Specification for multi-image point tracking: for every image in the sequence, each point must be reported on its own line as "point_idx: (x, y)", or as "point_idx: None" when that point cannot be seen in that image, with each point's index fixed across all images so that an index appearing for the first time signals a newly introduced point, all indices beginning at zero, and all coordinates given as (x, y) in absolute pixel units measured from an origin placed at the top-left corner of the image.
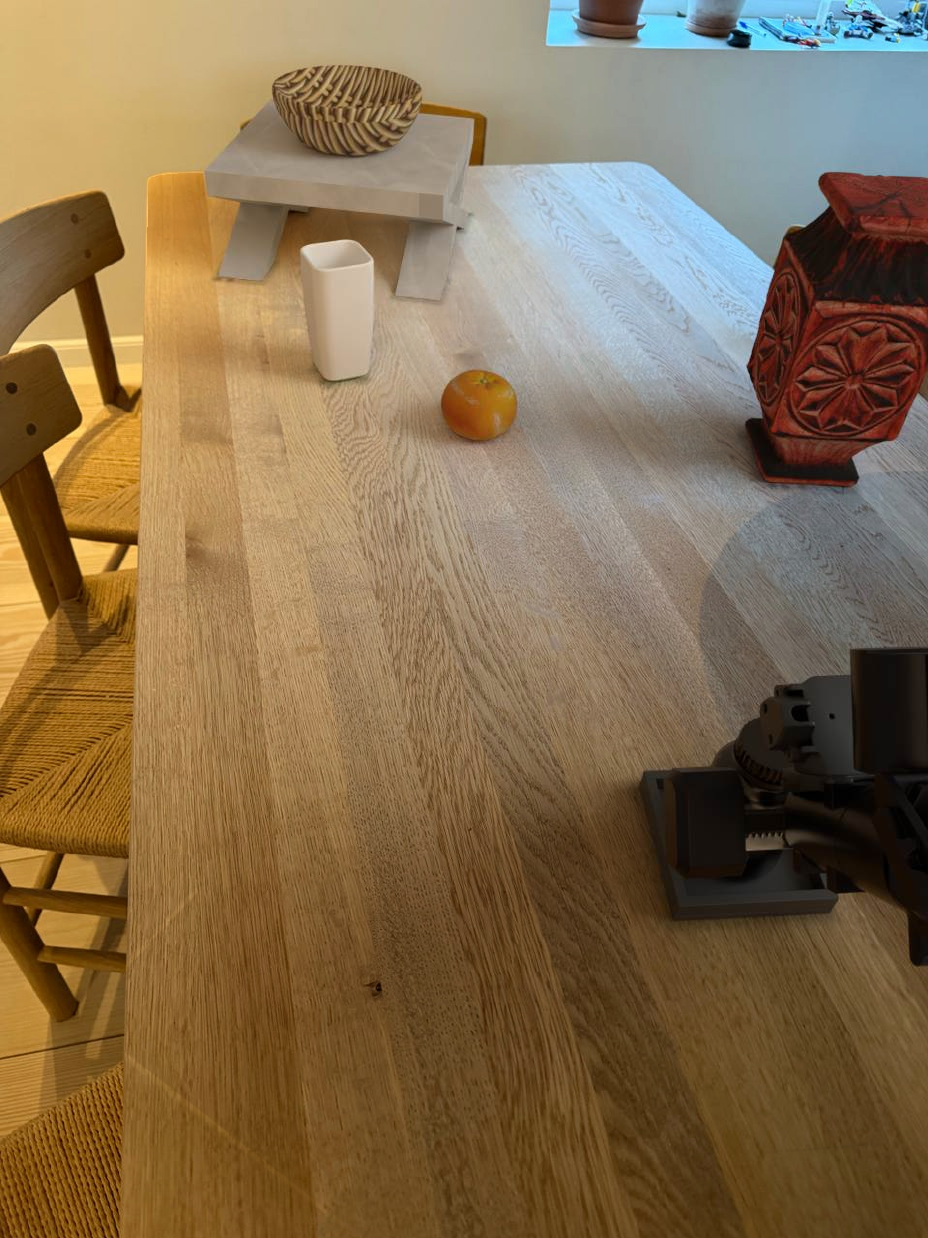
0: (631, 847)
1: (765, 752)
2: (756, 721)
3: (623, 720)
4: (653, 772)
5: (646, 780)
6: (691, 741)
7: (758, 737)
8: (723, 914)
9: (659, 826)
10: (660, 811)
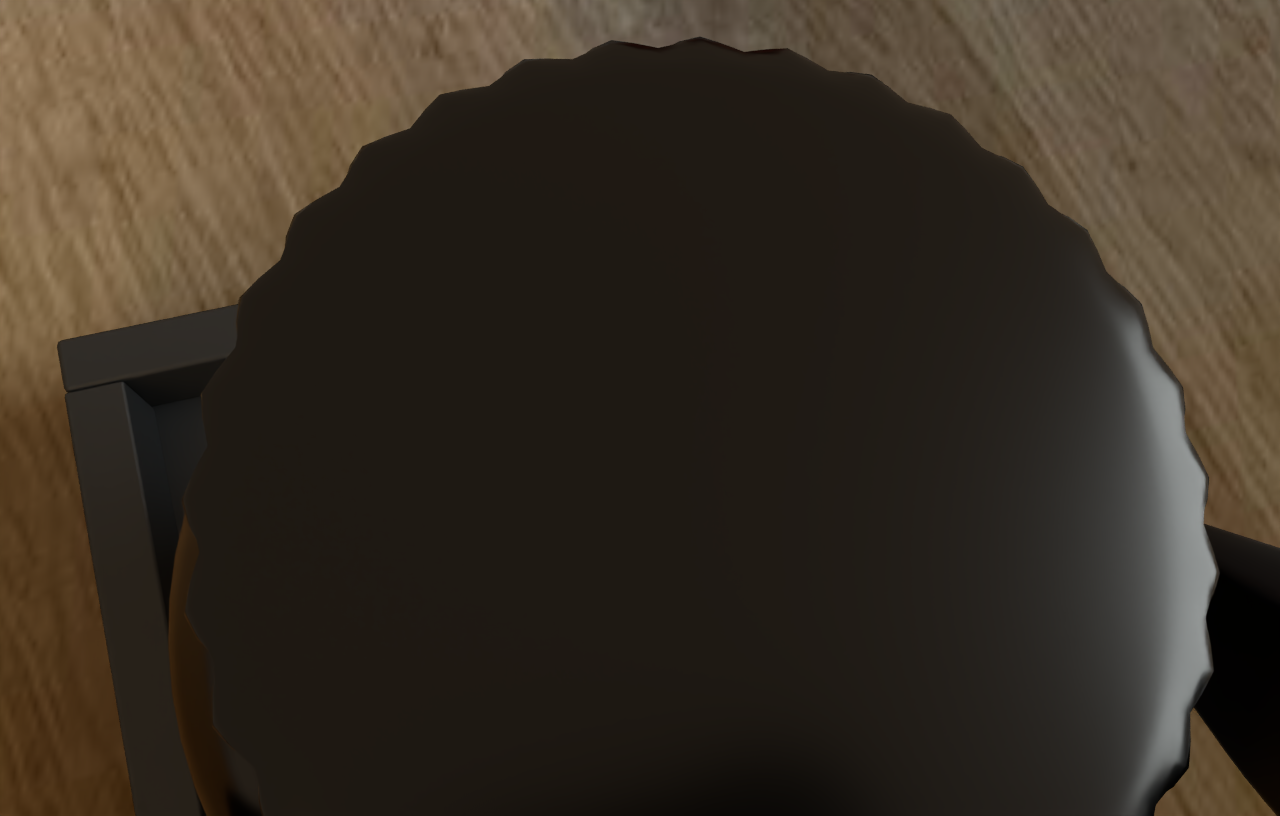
0: (44, 759)
1: (578, 721)
2: (475, 137)
3: (51, 18)
4: (114, 341)
5: (68, 401)
6: (385, 90)
7: (482, 433)
8: None
9: (122, 701)
10: (137, 594)
